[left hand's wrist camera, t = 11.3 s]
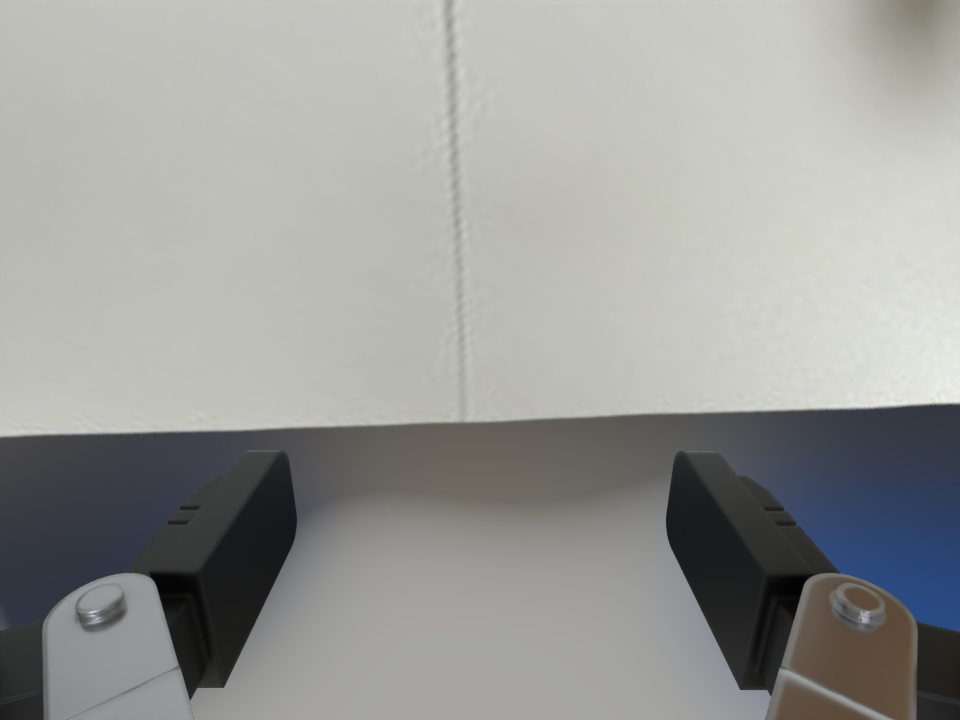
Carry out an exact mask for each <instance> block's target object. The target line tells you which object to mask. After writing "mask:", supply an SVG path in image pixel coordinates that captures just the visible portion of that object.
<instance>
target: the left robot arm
mask: <svg viewBox="0 0 960 720" xmlns="http://www.w3.org/2000/svg"><path fill="white" fill-rule="evenodd" d="M296 525H297V515H296V507H295V500H294V493H293V486H292V479H291V471H290V464H289V459H288V456H287V453H286V452H285V451H282V450H248V451H245V452H244V453H243V454H242V455H241V456H240V458H239V459H238V460H237V461H236V463H235V464H234V465H233V467H232V468H231V469H230V470H229V472H228V473H227V474H226V475H217V476H215V477H213V478H212V479H210V480H209V481H207V482H206V483H204V484H202V485H201V486H199V487H198V488H196V489H195V490H194V491H193V492H192V493H191V495H190V496H189V497H188V498H187V499H186V501H185V502H184V503H183V504H182V505H181V506H180V510H177V511H176V512H175V513H174V514H173V516H172V517H171V518H170V519H169V520H168V524H167V525H164V526H163V527H162V528H161V530H160V531H159V532H158V533H157V534H156V535H155V537H154V538H153V539H152V540H151V541H150V543H149V544H148V545H147V546H146V547H145V548H144V550H143V551H142V552H141V553H140V554H139V555H138V557H137V558H136V559H135V560H134V561H133V562H132V564H131V565H130V566H129V567H128V568H127V570H126V571H125V572H124V573H123V574H116V575H112V576H107V577H104V578H101V579H98V580H96V581H93V582H91V583H88V584H87V585H84V586H83V587H81V588H79V589H77V590H75V591H74V592H72V593H71V594H69V595H68V596H66V597H65V598H64V599H63V600H61V601H60V602H59V603H58V604H57V605H56V606H55V607H54V608H53V609H52V610H51V611H50V613H49V614H48V616H47V617H46V619H45V621H42V622H37V623H33V624H28V625H24V626H20V627H15V628H11V629H6V630H2V631H0V720H195V717H194V714H193V710H192V707H191V704H190V700H191V698H192V697H193V695H194V693H195V691H196V689H197V688H224V686H225V684H226V682H227V680H228V678H229V676H230V674H231V672H232V670H233V668H234V666H235V664H236V661H237V659H238V657H239V655H240V653H241V651H242V649H243V647H244V645H245V643H246V641H247V639H248V637H249V634H250V632H251V630H252V628H253V626H254V624H255V622H256V620H257V618H258V616H259V614H260V611H261V609H262V607H263V605H264V603H265V601H266V599H267V597H268V595H269V593H270V591H271V589H272V587H273V585H274V582H275V580H276V578H277V576H278V574H279V572H280V570H281V568H282V566H283V564H284V562H285V560H286V557H287V555H288V553H289V551H290V549H291V547H292V545H293V542H294V538H295V533H296ZM666 529H667V535H668V540H669V543H670V546H671V549H672V550H673V553H674V555H675V557H676V559H677V561H678V563H679V565H680V567H681V569H682V571H683V573H684V575H685V577H686V579H687V581H688V583H689V585H690V587H691V590H692V592H693V594H694V596H695V598H696V600H697V602H698V604H699V606H700V608H701V610H702V612H703V614H704V616H705V618H706V620H707V622H708V624H709V627H710V629H711V631H712V633H713V635H714V637H715V639H716V641H717V643H718V645H719V647H720V649H721V651H722V653H723V655H724V657H725V659H726V661H727V663H728V666H729V668H730V670H731V672H732V674H733V676H734V678H735V680H736V682H737V684H738V686H739V688H740V690H768V692H769V694H770V696H771V700H770V703H769V707H768V710H767V714H766V717H765V720H960V632H958V631H954V630H949V629H945V628H941V627H937V626H932V625H928V624H923V623H920V622H916V621H915V619H914V617H913V616H912V614H911V613H910V611H909V610H908V609H907V608H906V607H905V606H904V605H903V604H902V603H901V602H900V601H899V600H898V599H896V598H895V597H894V596H892V595H891V594H889V593H888V592H886V591H885V590H883V589H881V588H879V587H877V586H876V585H874V584H872V583H869V582H867V581H864V580H862V579H859V578H856V577H853V576H848V575H844V574H840V573H839V572H838V570H837V569H836V568H835V567H834V566H833V565H832V564H831V562H830V561H829V560H828V559H827V558H826V556H825V555H824V554H823V553H822V552H821V551H820V550H819V548H818V547H817V546H816V545H815V544H814V543H813V541H812V540H811V539H810V538H809V537H808V536H807V534H806V533H805V532H804V531H803V530H802V529H801V527H800V526H796V522H795V520H794V519H793V518H792V517H791V516H790V515H789V514H788V512H787V511H784V508H783V507H782V505H781V504H780V503H779V502H778V501H777V500H776V498H775V497H774V496H773V495H772V494H771V493H770V491H769V490H767V489H766V488H764V487H762V486H761V485H759V484H758V483H756V482H755V481H753V480H752V479H750V478H748V477H747V476H737V475H736V473H735V472H734V471H733V470H732V468H731V467H730V466H729V465H728V463H727V462H726V461H725V460H724V458H723V457H722V456H721V455H720V454H719V453H718V452H716V451H680V452H678V453H677V454H676V457H675V459H674V464H673V471H672V479H671V486H670V493H669V500H668V507H667V514H666Z"/></svg>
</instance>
